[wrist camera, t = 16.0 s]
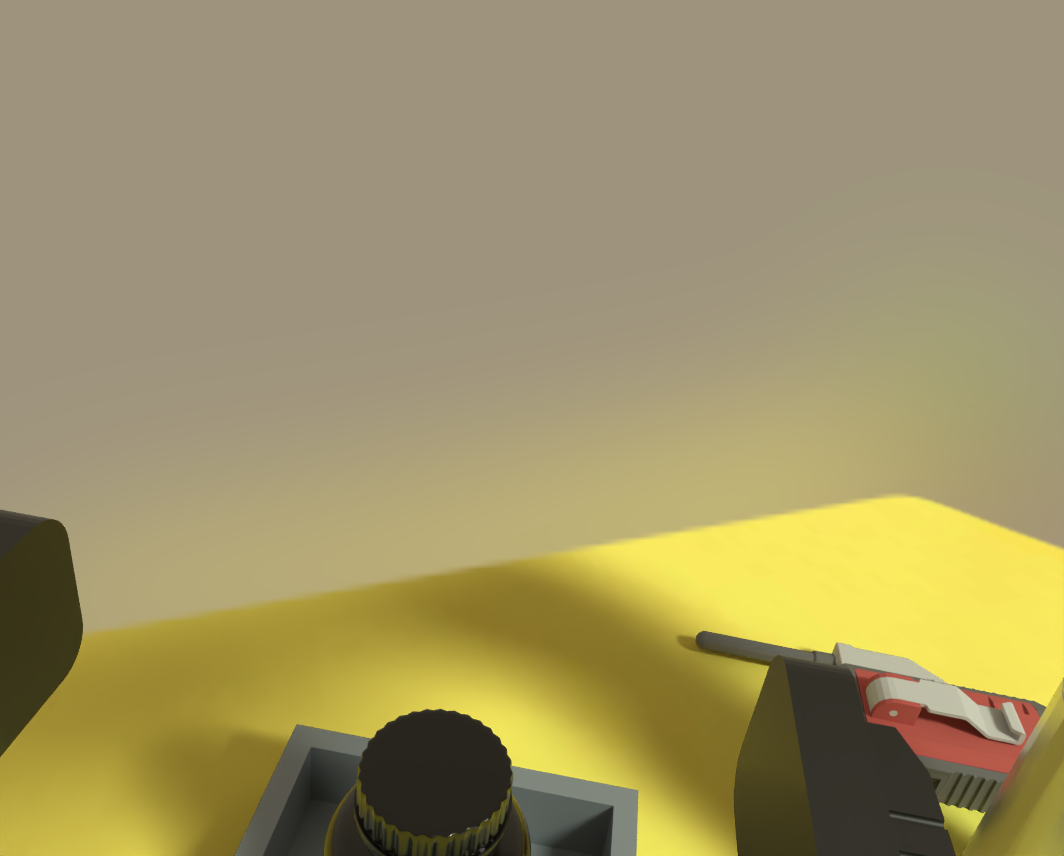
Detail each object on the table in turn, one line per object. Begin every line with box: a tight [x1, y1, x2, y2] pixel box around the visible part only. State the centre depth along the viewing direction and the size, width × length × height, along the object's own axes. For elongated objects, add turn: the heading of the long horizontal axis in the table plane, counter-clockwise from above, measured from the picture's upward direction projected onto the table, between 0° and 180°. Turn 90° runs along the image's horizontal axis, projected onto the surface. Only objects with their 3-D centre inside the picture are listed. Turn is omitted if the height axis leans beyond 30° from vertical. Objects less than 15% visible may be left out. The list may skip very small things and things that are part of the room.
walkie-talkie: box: [696, 631, 1046, 813], centre depth 47 cm, size 9×4×20 cm
